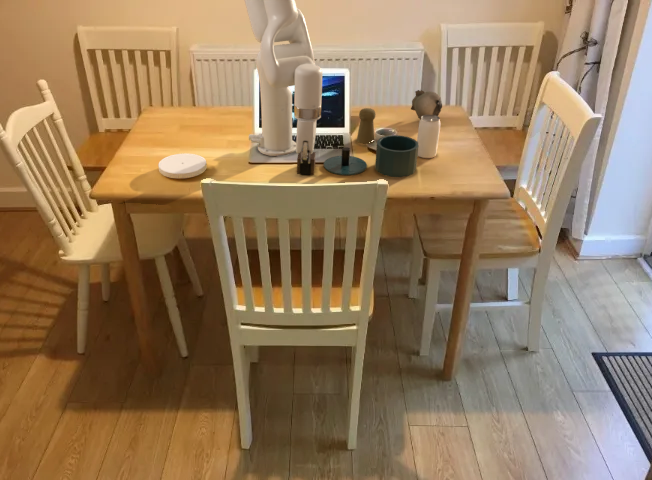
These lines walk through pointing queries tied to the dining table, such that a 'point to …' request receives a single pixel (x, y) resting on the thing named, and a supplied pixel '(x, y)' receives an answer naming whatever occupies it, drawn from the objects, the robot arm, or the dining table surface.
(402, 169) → the pot
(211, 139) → the dining table surface
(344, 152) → the lid
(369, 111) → the cork
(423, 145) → the can
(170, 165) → the plastic lid
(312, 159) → the block
